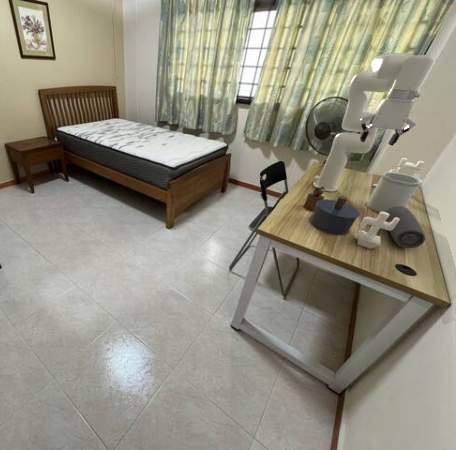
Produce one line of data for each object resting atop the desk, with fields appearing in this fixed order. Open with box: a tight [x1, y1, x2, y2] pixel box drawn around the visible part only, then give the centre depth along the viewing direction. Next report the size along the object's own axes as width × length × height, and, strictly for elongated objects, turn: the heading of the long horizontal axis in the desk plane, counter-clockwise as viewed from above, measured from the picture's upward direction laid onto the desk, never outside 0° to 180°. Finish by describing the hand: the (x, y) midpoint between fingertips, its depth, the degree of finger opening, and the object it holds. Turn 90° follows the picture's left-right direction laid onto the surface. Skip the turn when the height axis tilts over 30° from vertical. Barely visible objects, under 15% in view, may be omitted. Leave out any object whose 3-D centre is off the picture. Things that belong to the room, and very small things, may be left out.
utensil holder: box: [366, 171, 423, 213], centre depth 120 cm, size 15×15×18 cm
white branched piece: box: [372, 157, 425, 187], centre depth 138 cm, size 19×14×20 cm
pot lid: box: [316, 195, 361, 219], centre depth 104 cm, size 16×16×6 cm
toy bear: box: [303, 187, 325, 212], centre depth 120 cm, size 5×5×12 cm
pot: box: [309, 206, 357, 236], centre depth 108 cm, size 15×15×8 cm
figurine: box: [357, 212, 400, 249], centre depth 95 cm, size 7×9×15 cm
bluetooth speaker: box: [385, 206, 426, 249], centre depth 102 cm, size 23×9×10 cm, turn 150°
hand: (376, 143), depth 98 cm, fingers open, 9 cm apart
